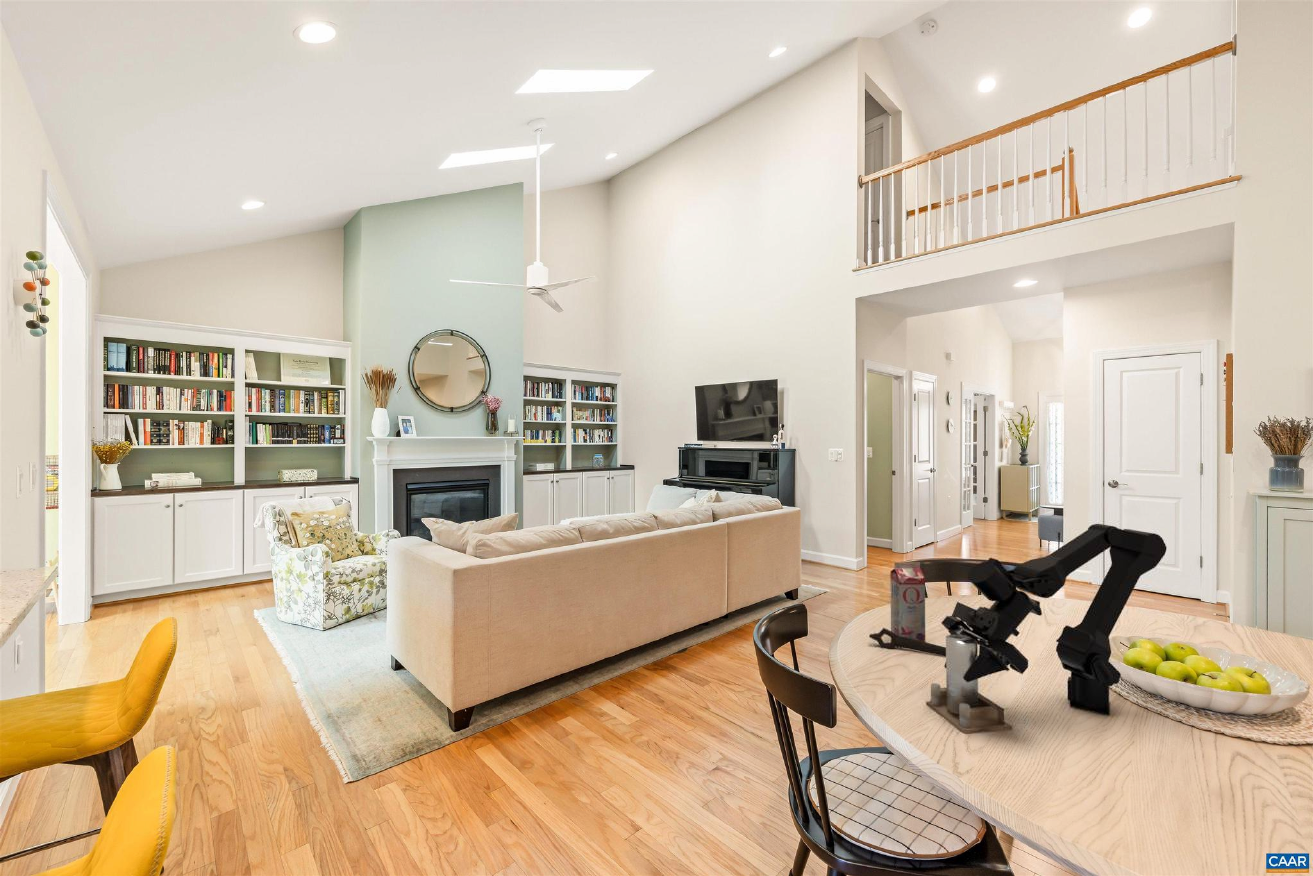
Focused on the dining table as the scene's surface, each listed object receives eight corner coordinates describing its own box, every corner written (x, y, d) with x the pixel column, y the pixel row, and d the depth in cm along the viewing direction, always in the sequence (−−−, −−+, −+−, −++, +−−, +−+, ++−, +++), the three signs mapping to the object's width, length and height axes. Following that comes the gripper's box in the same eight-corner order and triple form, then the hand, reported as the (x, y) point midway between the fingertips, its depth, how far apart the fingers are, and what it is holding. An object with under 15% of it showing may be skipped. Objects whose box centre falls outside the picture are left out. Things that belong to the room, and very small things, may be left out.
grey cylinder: (965, 701, 119) (964, 633, 119) (984, 714, 113) (984, 643, 113) (940, 703, 118) (939, 635, 118) (958, 717, 112) (957, 645, 112)
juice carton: (925, 648, 153) (924, 565, 153) (899, 648, 153) (898, 565, 153) (915, 639, 159) (914, 559, 159) (890, 639, 160) (890, 559, 160)
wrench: (997, 680, 137) (865, 648, 153) (997, 674, 141) (869, 643, 157) (999, 658, 137) (867, 628, 153) (999, 653, 141) (871, 624, 157)
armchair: (969, 700, 122) (969, 679, 122) (1012, 729, 110) (1011, 705, 110) (926, 704, 121) (925, 682, 121) (964, 733, 109) (964, 709, 109)
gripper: (948, 578, 125) (902, 632, 124) (1013, 602, 107) (959, 666, 105) (982, 612, 126) (936, 666, 125) (1052, 642, 108) (999, 705, 106)
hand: (955, 674), depth 115 cm, fingers closed on grey cylinder, 5 cm apart
